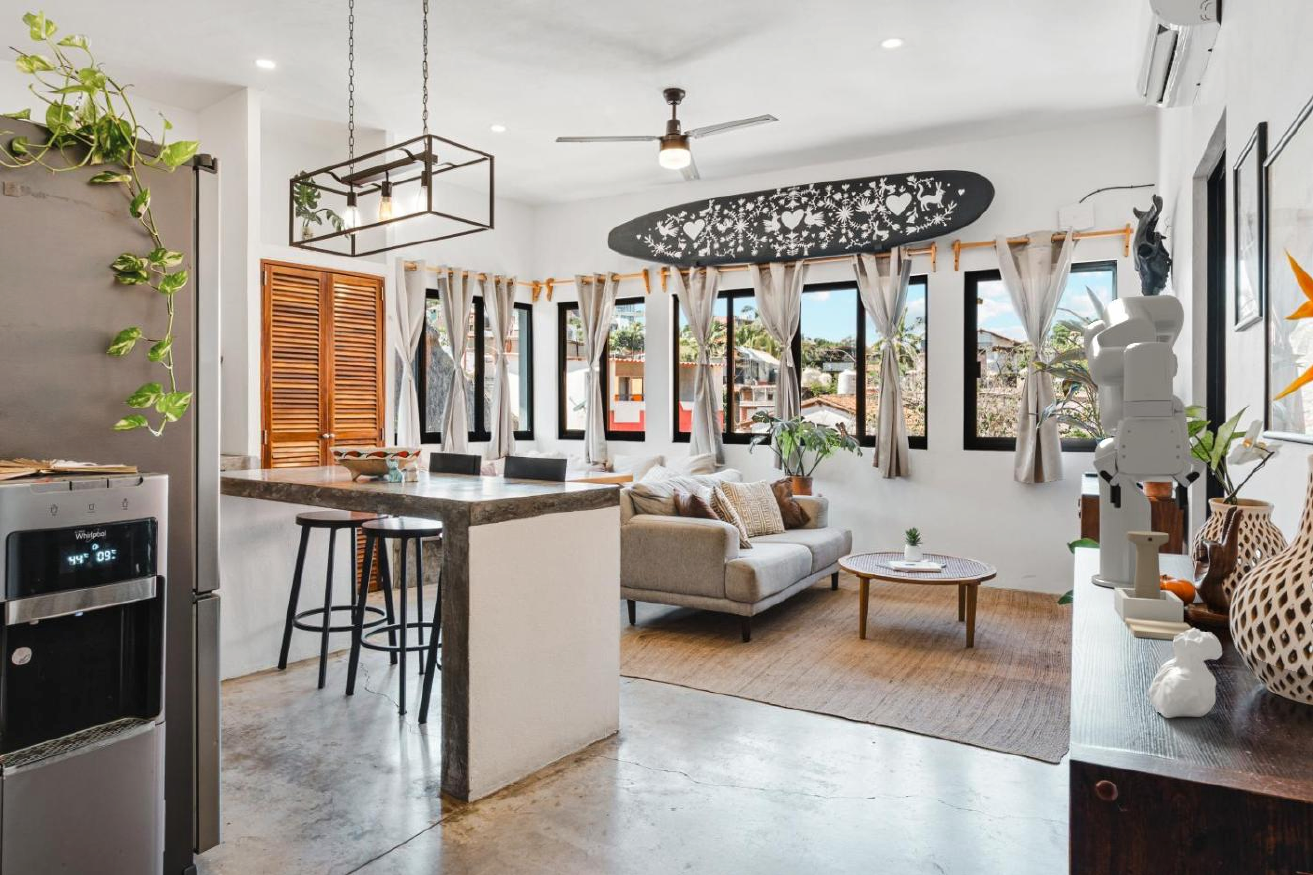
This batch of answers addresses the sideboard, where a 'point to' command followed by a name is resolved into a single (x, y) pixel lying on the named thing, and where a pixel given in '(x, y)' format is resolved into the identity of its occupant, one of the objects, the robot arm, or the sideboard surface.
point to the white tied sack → (1187, 676)
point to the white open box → (1148, 606)
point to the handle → (1147, 562)
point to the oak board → (1156, 628)
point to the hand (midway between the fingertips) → (1148, 508)
